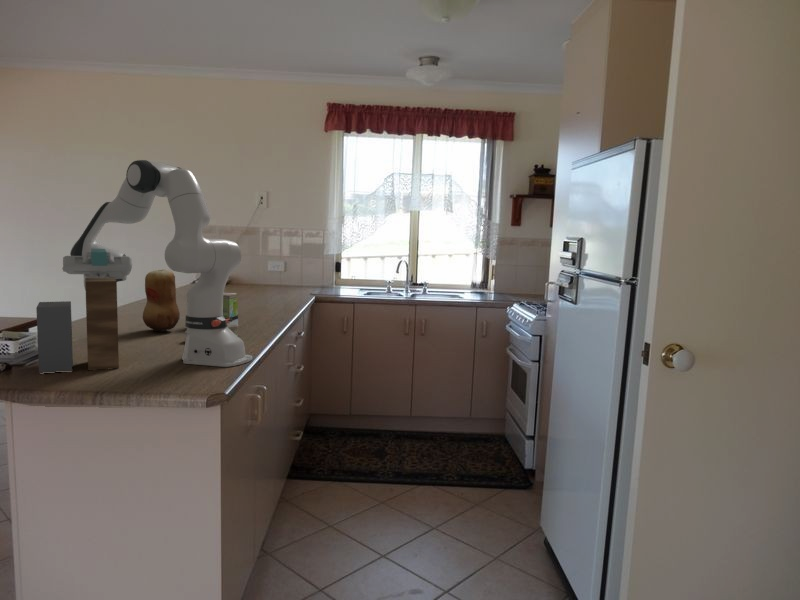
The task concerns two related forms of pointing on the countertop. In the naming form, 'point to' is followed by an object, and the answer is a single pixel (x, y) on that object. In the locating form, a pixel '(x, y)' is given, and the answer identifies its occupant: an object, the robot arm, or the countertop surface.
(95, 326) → the tall stand
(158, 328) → the butternut squash
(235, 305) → the tea box
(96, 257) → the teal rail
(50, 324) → the upright gray pillar
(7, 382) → the countertop surface
